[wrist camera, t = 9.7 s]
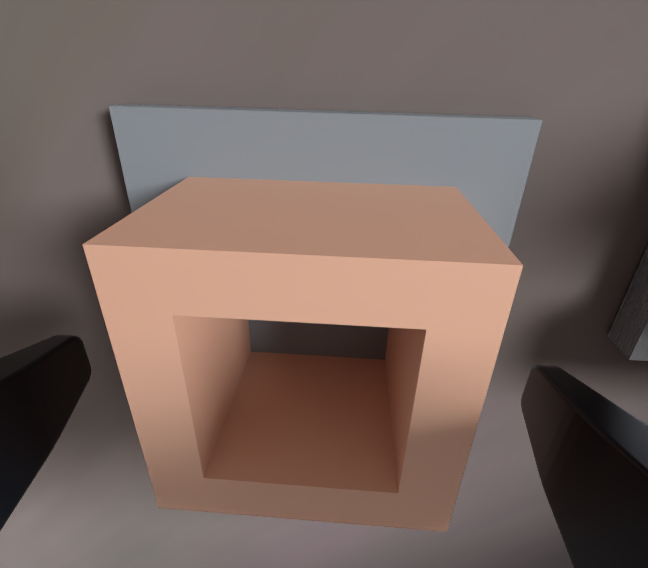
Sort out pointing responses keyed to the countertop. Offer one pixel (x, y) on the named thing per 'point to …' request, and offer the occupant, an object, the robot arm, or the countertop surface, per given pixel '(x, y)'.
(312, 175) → the mat
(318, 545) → the countertop surface
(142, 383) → the collar
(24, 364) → the robot arm
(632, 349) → the grey plate with rod
